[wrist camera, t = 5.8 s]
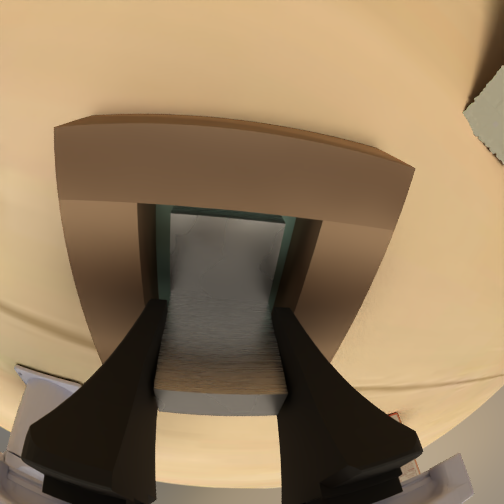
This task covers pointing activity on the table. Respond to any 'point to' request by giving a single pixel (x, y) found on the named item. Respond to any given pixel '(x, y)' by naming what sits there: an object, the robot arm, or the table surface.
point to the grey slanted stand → (489, 115)
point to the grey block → (221, 315)
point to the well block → (228, 198)
